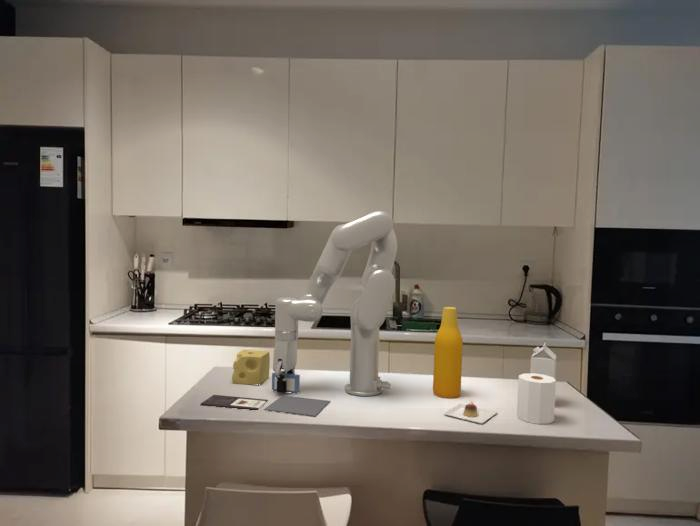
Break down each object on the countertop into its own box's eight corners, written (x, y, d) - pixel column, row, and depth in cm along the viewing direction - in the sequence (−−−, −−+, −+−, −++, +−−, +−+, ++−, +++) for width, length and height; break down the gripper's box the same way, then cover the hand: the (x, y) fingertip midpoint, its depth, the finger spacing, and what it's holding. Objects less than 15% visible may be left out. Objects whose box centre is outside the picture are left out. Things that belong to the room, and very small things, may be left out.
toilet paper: (550, 413, 161) (552, 374, 160) (556, 426, 151) (558, 383, 150) (515, 410, 163) (517, 371, 162) (518, 422, 153) (520, 380, 152)
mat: (330, 402, 166) (330, 400, 166) (315, 416, 153) (315, 415, 153) (282, 396, 170) (282, 395, 170) (263, 410, 157) (263, 409, 157)
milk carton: (554, 401, 173) (557, 343, 172) (552, 407, 167) (555, 347, 165) (531, 397, 176) (533, 340, 175) (528, 403, 170) (531, 344, 168)
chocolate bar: (213, 394, 169) (267, 399, 165) (213, 397, 169) (267, 402, 165) (200, 403, 160) (256, 409, 156) (200, 406, 160) (256, 412, 156)
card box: (299, 392, 175) (299, 374, 175) (297, 394, 173) (297, 376, 173) (273, 389, 177) (274, 372, 177) (271, 391, 176) (271, 373, 175)
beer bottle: (452, 389, 183) (455, 305, 181) (466, 397, 174) (469, 309, 173) (427, 391, 180) (430, 306, 178) (440, 399, 171) (444, 310, 170)
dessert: (482, 427, 150) (483, 410, 149) (443, 417, 157) (443, 401, 156) (497, 415, 159) (498, 400, 159) (459, 407, 166) (460, 392, 166)
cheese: (231, 383, 183) (232, 355, 182) (243, 375, 193) (243, 348, 193) (260, 386, 181) (261, 357, 181) (270, 377, 192) (271, 350, 191)
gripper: (285, 330, 183) (284, 381, 185) (264, 339, 167) (263, 396, 168) (306, 331, 182) (305, 383, 183) (287, 341, 165) (286, 398, 166)
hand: (285, 389), depth 175 cm, fingers open, 5 cm apart
